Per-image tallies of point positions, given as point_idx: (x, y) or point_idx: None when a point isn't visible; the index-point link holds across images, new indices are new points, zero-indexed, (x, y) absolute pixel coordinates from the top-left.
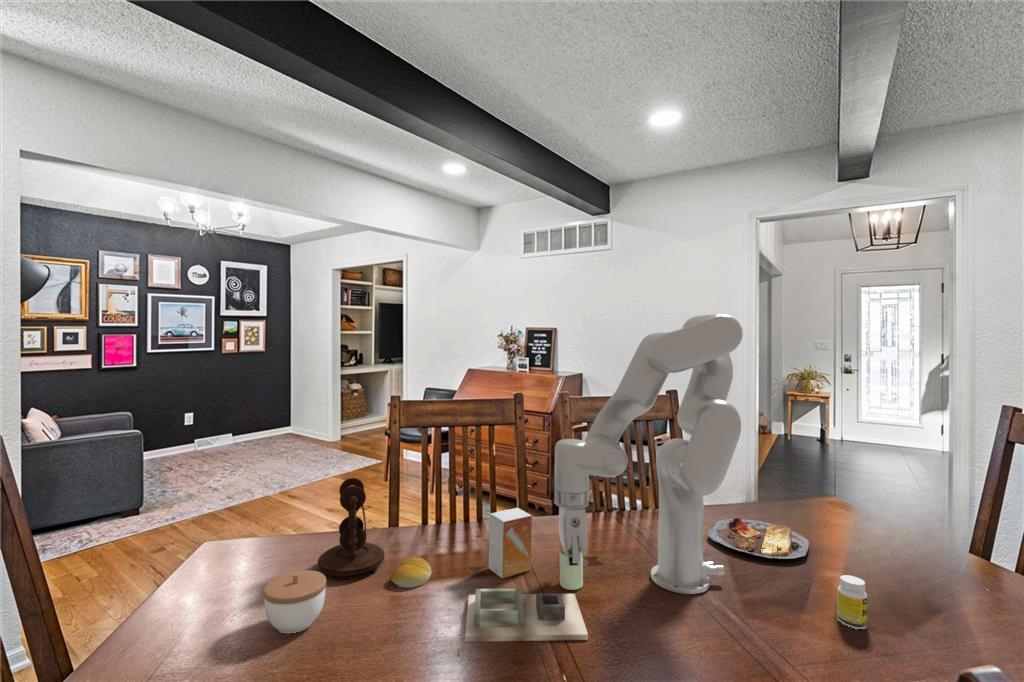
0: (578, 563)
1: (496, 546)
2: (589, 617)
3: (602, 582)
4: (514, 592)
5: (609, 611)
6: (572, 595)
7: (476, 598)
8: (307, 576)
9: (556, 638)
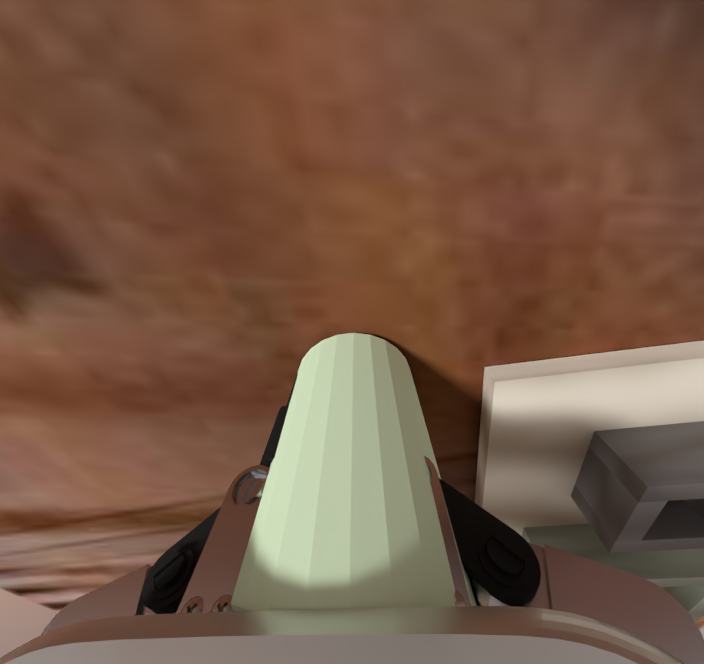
0: (437, 484)
1: None
2: (677, 306)
3: (289, 212)
4: None
5: (662, 184)
6: (510, 390)
7: None
8: None
9: None
